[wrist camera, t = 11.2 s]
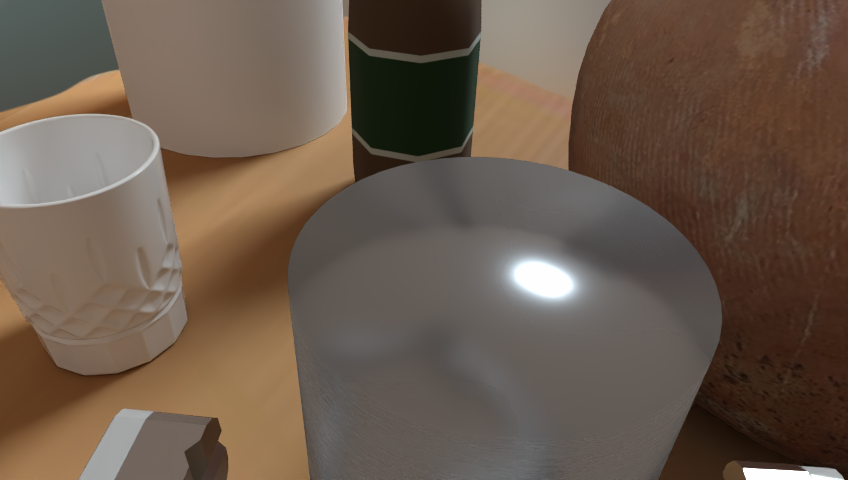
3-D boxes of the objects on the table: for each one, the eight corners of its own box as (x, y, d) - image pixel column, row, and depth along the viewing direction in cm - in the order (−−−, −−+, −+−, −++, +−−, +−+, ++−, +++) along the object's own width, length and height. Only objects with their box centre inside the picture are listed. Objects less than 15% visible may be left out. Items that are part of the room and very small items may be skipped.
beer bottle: (418, 239, 39) (434, -252, 25) (330, 193, 43) (300, -255, 29) (490, 189, 44) (538, -245, 30) (405, 152, 48) (412, -248, 34)
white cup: (229, 328, 33) (193, 157, 27) (72, 416, 28) (-14, 233, 22) (155, 259, 37) (110, 98, 31) (8, 325, 32) (-78, 151, 27)
